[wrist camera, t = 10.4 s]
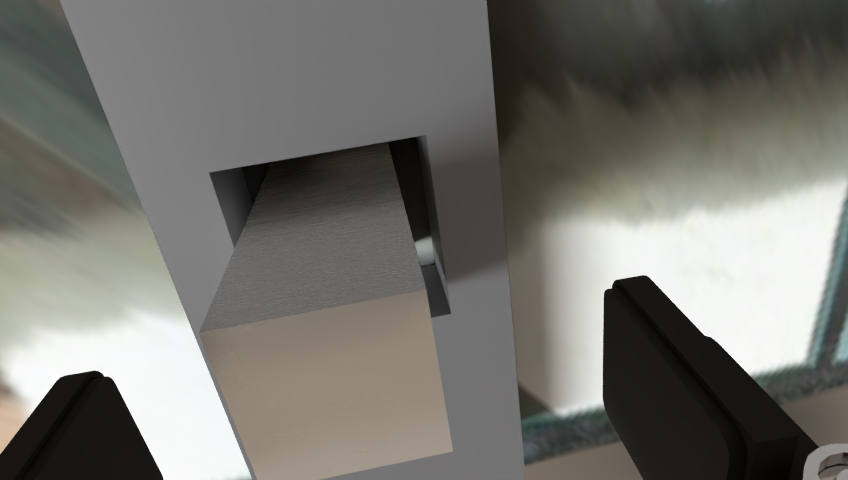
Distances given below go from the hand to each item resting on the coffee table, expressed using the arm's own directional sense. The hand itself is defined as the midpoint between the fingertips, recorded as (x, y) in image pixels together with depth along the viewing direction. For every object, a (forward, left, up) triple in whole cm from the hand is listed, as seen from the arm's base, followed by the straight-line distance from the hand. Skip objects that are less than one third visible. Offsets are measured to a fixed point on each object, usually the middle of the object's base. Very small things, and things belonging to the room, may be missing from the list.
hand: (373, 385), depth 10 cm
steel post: (+1, 0, -10) cm, 10 cm away
